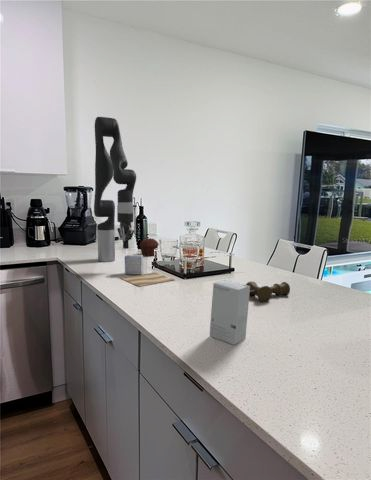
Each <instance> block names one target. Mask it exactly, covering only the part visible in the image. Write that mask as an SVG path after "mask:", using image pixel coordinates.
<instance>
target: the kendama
mask: <svg viewBox="0 0 371 480" xmlns="http://www.w3.org/2000/svg"><path fill="white" fill-rule="evenodd" d="M245 285H248V286H250V293H249V297H251V296H257V300H258V301H259V302H260V303H267V302H269V301H270V300H271V298H272V295H273V294H275V295H276V296H280V295H281V294H282V295H284V296H287V295H289V294H290V291H291V286H290V284H289V283H288V282H286V281H282V282H281V283H280V284H279V283H274V284H273V285H272V286H267V285H264V286H258V284H257V283H256V282H255V281H248V282H246V284H245Z"/></svg>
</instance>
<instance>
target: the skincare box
mask: <svg viewBox="0 0 371 480" xmlns="http://www.w3.org/2000/svg"><path fill="white" fill-rule="evenodd" d="M212 284H213V285H212V300H211V308H210V309H211V310H210V322H209V323H210V324H209V336H210V337H212V338H214V339H218V340H221V341H223V342H225V343H229V344H230V345H233V346H234V345H237V344H238V343H240V342H242V341H244V340H245V339H246V338H247V337H246V335H247V326H248V324H247V323H248V314H249V301H250V296H249V293H250V286H248V285H246V284H245V283H240V282H238V281H233V280H229V279H222V280H219V281H215V282H213V283H212Z"/></svg>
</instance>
